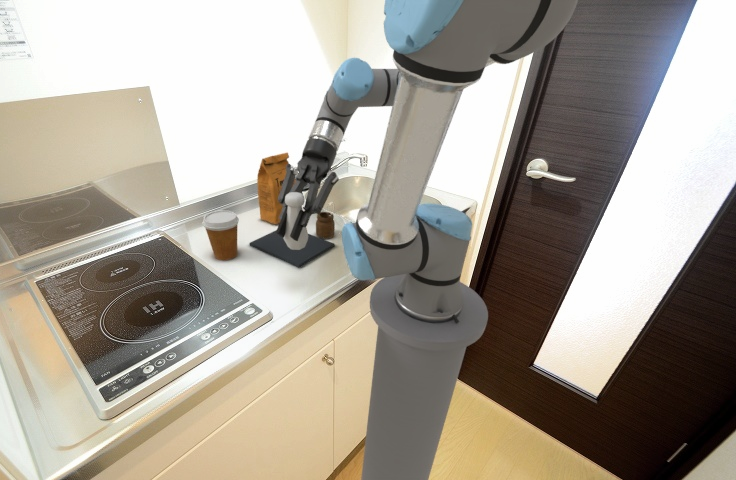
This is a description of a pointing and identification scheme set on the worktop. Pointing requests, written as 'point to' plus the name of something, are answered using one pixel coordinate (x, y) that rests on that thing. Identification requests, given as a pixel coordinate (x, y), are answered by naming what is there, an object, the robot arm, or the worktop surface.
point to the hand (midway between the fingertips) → (286, 236)
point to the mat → (280, 250)
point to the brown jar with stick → (325, 224)
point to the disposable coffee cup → (222, 233)
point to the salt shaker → (294, 220)
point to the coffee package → (271, 186)
